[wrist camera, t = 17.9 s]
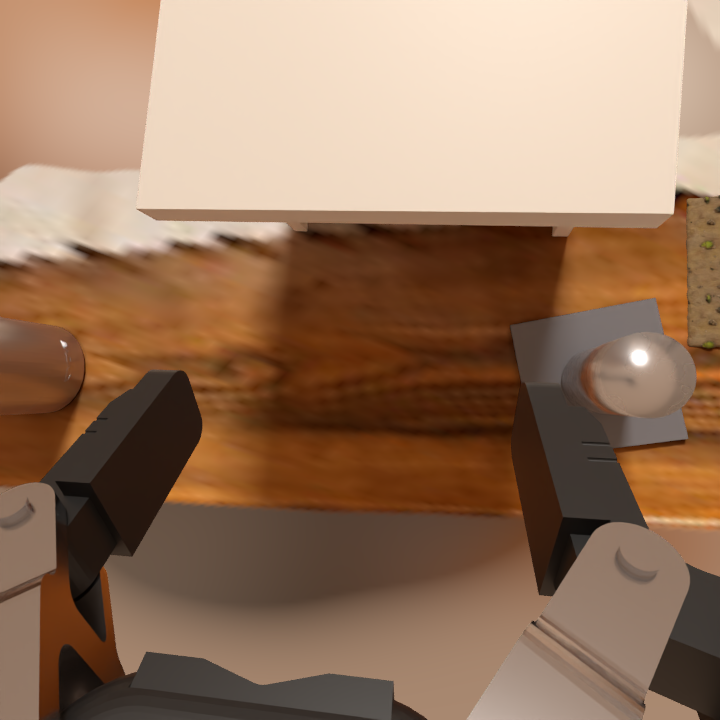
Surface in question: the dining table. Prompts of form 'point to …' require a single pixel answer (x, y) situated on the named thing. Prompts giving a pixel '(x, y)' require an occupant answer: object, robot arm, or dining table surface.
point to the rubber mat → (585, 331)
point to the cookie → (703, 271)
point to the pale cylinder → (631, 376)
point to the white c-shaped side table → (415, 112)
